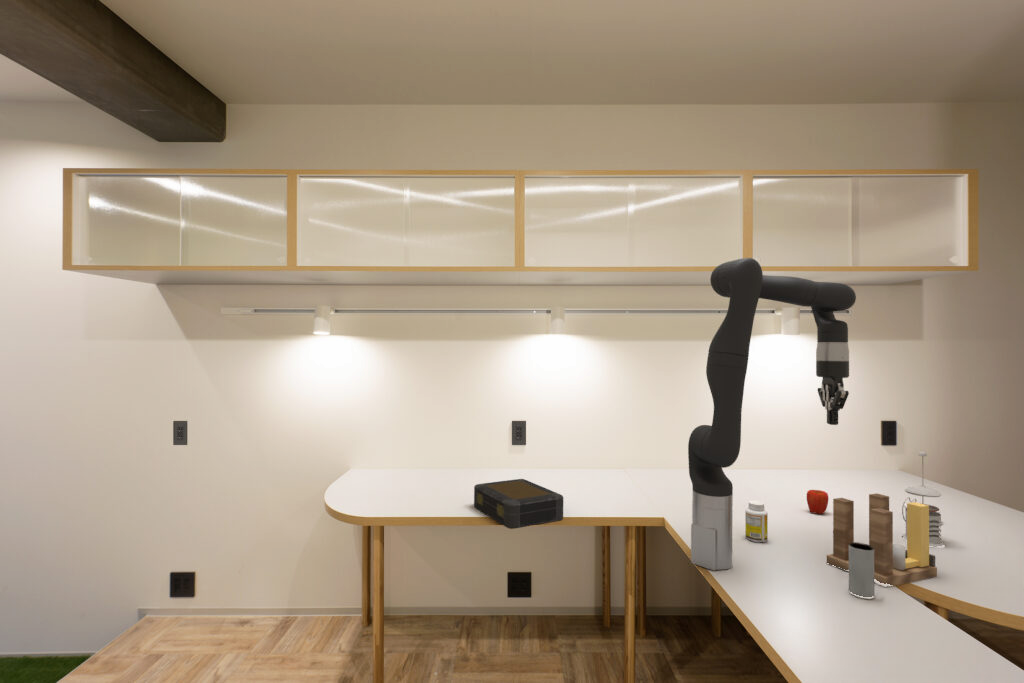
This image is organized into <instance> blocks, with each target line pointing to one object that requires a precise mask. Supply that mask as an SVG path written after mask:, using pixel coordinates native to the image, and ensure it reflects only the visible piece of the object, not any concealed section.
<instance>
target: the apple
mask: <svg viewBox="0 0 1024 683" xmlns="http://www.w3.org/2000/svg"><path fill="white" fill-rule="evenodd" d="M806 503H807V507H808V510H809V511H810V512H811V513H812V514H819V515H820V514H821V515H822V514H824V513H825V512H826V510H827V509H828V504H829V493H827V492H826V491H824V490H820V489H817V490H816V489H809V490H807V491H806Z"/></svg>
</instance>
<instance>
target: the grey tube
mask: <svg viewBox="0 0 1024 683" xmlns="http://www.w3.org/2000/svg"><path fill="white" fill-rule="evenodd" d="M849 591H850V592H852V593H853V594H856V595H859V596H863V597H872V596H874V597H875V583H874V548H873V547H872V546H870V545H869V544H867V543H863V542H855V541H854V542H853V543H849V572H848V592H849Z"/></svg>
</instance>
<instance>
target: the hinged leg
mask: <svg viewBox="0 0 1024 683" xmlns="http://www.w3.org/2000/svg"><path fill="white" fill-rule="evenodd" d="M920 503H921V502H920ZM920 503H919V502H917V501H916V502H915V501H913V503H911V502H907V503H906V504H907V542H906V547H905V546H904V545H901V544H896V543H894V544H893V568H895V569H898V570H905V569H907V568H912V567H917V566H919V567H925V566H929V554H930V547H929V506H928V505H929V504H927V505H924V504H925V503H923V504H922V503H921V504H920ZM905 550H907V558H905Z"/></svg>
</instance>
